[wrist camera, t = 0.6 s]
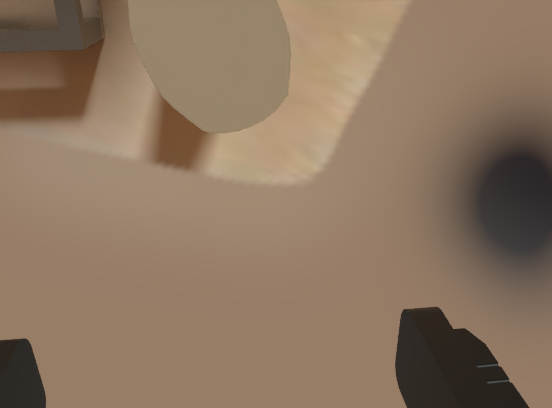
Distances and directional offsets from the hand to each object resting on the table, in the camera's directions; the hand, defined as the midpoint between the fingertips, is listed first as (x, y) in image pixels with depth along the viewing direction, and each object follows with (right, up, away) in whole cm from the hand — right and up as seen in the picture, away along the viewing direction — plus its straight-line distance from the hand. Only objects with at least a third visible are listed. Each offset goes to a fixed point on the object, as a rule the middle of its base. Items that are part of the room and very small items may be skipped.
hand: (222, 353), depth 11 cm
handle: (-3, +15, +19) cm, 24 cm away
